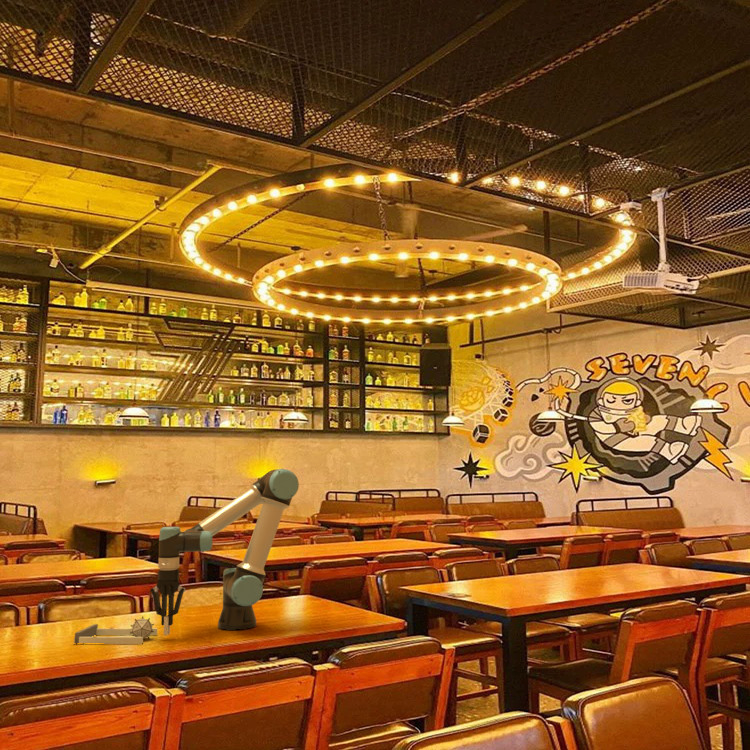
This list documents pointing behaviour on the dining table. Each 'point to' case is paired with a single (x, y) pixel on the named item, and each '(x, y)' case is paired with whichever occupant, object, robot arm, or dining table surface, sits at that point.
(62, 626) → the dining table surface
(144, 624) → the game die
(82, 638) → the tan piece
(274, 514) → the robot arm
